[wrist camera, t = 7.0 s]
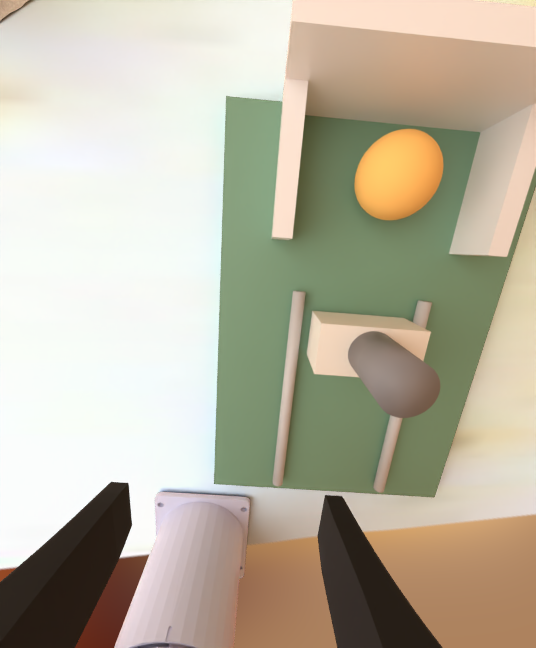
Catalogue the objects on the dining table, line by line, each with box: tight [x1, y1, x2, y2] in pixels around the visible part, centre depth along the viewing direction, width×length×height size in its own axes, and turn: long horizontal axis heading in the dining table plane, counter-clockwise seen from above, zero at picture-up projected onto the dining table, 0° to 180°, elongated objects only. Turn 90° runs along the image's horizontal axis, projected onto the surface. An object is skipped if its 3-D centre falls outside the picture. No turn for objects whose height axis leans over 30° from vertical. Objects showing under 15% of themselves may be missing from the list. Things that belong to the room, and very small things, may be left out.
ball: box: [354, 129, 443, 220], centre depth 13 cm, size 4×4×4 cm
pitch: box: [214, 96, 536, 497], centre depth 18 cm, size 26×18×2 cm
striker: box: [307, 311, 440, 418], centre depth 14 cm, size 3×6×7 cm, turn 85°
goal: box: [271, 0, 536, 257], centre depth 12 cm, size 8×12×6 cm, turn 85°
